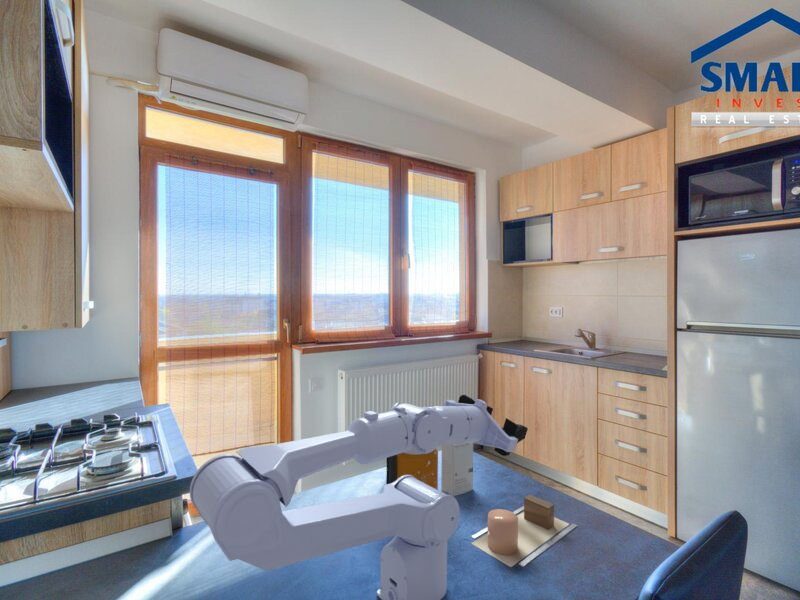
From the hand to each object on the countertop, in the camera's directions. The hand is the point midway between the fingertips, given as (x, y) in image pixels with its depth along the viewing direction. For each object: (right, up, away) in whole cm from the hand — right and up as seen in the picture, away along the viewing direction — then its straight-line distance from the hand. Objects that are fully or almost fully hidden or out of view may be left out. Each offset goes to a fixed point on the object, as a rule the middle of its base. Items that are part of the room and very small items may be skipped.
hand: (506, 422), depth 71 cm
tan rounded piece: (-2, -20, -4) cm, 20 cm away
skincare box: (-6, -21, +17) cm, 28 cm away
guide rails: (+4, -21, +1) cm, 21 cm away
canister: (-17, -21, +8) cm, 28 cm away
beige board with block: (+3, -21, 0) cm, 21 cm away
